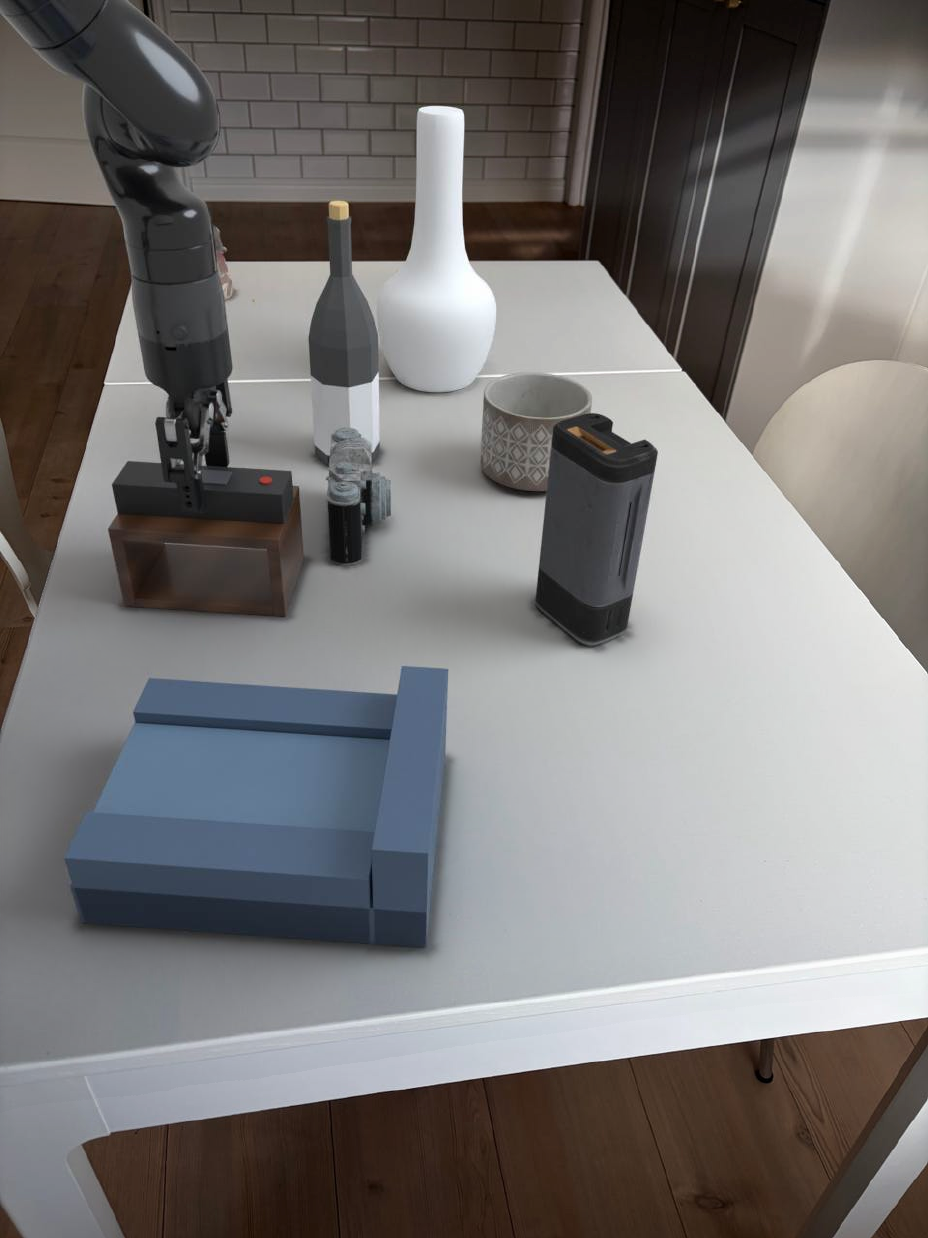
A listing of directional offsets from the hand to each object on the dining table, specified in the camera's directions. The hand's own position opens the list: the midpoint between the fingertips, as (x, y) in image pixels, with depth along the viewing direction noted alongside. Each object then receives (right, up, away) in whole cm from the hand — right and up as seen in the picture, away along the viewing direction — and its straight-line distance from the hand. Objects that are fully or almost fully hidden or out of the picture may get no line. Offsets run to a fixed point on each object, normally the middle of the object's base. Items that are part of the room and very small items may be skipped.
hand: (206, 488), depth 94 cm
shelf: (-1, -9, +7) cm, 11 cm away
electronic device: (+36, -12, +4) cm, 38 cm away
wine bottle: (+10, +8, +30) cm, 32 cm away
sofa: (+11, -29, -19) cm, 36 cm away
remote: (0, -1, +1) cm, 2 cm away
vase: (+20, +23, +49) cm, 58 cm away
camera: (+13, -2, +16) cm, 21 cm away
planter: (+33, +5, +28) cm, 43 cm away
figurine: (-18, +42, +73) cm, 86 cm away
